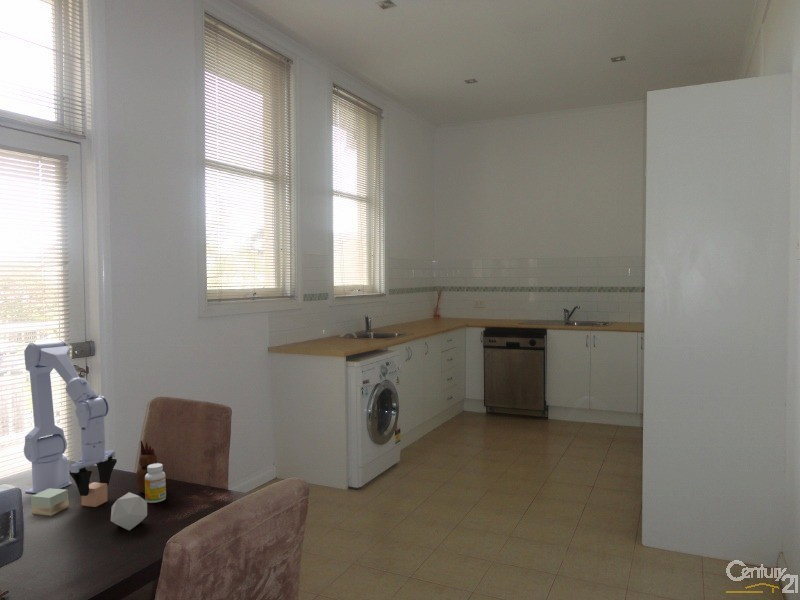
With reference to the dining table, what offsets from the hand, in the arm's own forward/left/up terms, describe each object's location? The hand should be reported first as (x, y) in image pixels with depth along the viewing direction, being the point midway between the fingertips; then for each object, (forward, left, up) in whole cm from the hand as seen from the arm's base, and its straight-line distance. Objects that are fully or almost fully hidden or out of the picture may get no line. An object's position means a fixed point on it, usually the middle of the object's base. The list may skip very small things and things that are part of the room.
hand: (94, 490), depth 164 cm
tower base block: (+7, -8, -4) cm, 11 cm away
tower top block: (+7, -8, -1) cm, 11 cm away
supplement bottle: (-6, +15, -4) cm, 17 cm away
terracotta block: (0, 0, -4) cm, 4 cm away
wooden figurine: (-11, +9, -4) cm, 15 cm away
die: (+11, +20, -4) cm, 23 cm away
